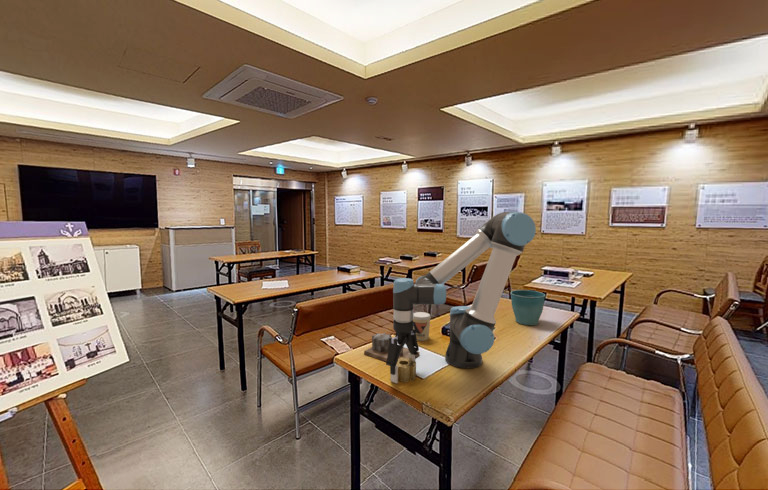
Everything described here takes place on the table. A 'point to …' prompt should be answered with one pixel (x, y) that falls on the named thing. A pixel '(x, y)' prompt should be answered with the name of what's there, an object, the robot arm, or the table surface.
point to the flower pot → (527, 306)
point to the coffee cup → (421, 325)
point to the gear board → (384, 348)
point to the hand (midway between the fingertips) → (403, 375)
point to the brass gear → (406, 369)
